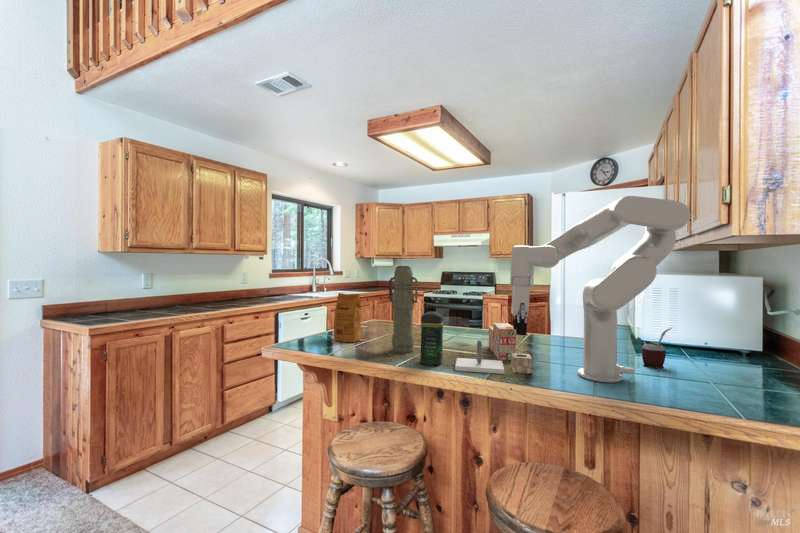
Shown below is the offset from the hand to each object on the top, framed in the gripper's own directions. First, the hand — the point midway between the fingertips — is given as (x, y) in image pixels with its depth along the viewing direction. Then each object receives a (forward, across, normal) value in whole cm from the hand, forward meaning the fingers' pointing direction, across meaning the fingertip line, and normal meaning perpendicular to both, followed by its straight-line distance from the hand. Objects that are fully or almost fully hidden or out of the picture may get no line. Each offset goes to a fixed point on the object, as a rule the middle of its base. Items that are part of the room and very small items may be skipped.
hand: (519, 332), depth 126 cm
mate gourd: (+12, -15, +48) cm, 52 cm away
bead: (+13, 0, +1) cm, 13 cm away
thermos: (+14, -17, -44) cm, 49 cm away
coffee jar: (+14, -2, -30) cm, 33 cm away
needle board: (+13, 0, -13) cm, 19 cm away
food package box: (+14, -23, -4) cm, 27 cm away
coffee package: (+15, -30, -73) cm, 80 cm away
